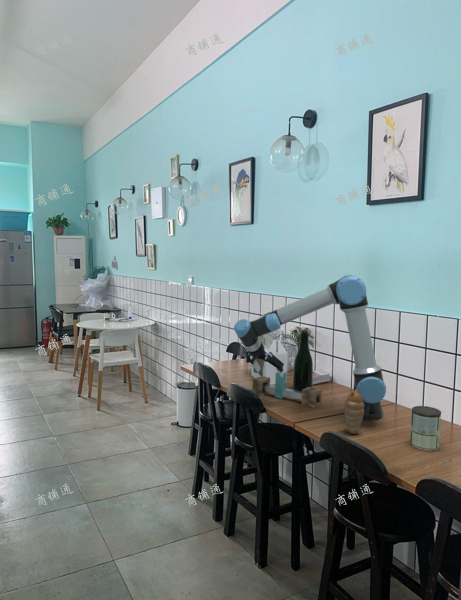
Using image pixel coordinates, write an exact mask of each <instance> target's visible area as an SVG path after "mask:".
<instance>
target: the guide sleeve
mask: <svg viewBox="0 0 461 600" xmlns="http://www.w3.org/2000/svg"><path fill="white" fill-rule="evenodd" d="M322 391H323V390H322V389H321V388H316V387H313V386H312V387H307V388H305V389H303V390H302V400H301V404H300V405H301V406H304V407H309V408H312V409H315V408H318V407H320V406H321V405H322Z"/></svg>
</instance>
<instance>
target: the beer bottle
mask: <svg viewBox="0 0 461 600" xmlns="http://www.w3.org/2000/svg"><path fill="white" fill-rule="evenodd" d="M309 336H310V333H309V330H306V329H302V330H301V332H300V338H299V347H298V350H297V352H296V355H295V358H294V361H293V370H292V371H293V372H292V390H296V391H301V392H302V390H303V389H305V388H307V387H312V388H313V382H314V380H313V379H314V364H313V362H314V361H313V357H312V354H311V351H310V348H309V347H310V346H309V338H310V337H309Z"/></svg>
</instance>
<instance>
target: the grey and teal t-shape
mask: <svg viewBox="0 0 461 600" xmlns="http://www.w3.org/2000/svg"><path fill="white" fill-rule="evenodd" d="M286 376H287V377H288V371H287V372H284V374H283V377H281V376H280V375H279V373H278V372H276V378H275V384H272V385H268V384H263V390H262V391H265V392H270V393H269V394H274V398H278V399H280V400H281V399H285V398H286V397H287V398H293V399H297V400H301V401H302V392H301V391H296V390H293V389H292V388H287V383H286Z"/></svg>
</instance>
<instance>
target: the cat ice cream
mask: <svg viewBox="0 0 461 600" xmlns="http://www.w3.org/2000/svg"><path fill="white" fill-rule="evenodd" d="M343 412H344V420H345V425H346V426H347V430H348V432H349V433H350V434H352V435H356V434H358V433H359V432H360V427H361V426H362V421H363V420H364V419H363V414H364V403H363V402H362V395H361V394H360V393H359V392H358V390H357V389H356V390H355V391H354V390H353V391H351V392H349V393H348V395H347V397H346V400H345V402H344V409H343Z"/></svg>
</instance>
